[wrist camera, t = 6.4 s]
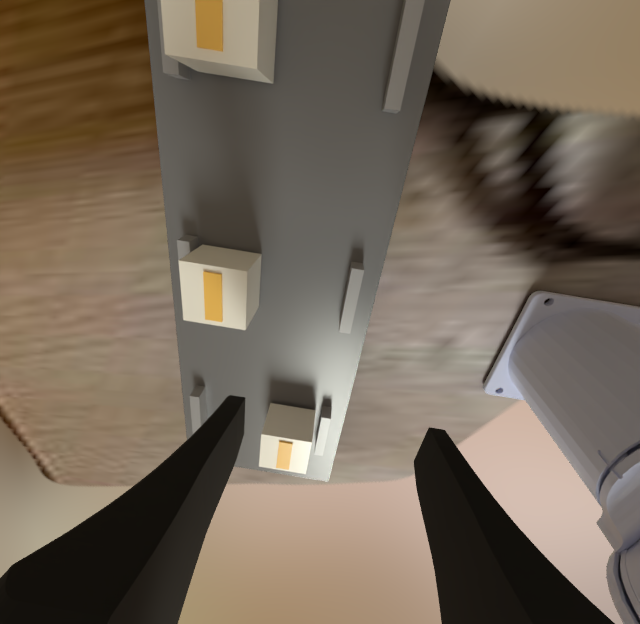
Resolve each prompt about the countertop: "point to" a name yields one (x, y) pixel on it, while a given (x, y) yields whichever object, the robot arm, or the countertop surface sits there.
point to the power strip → (293, 201)
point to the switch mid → (220, 286)
